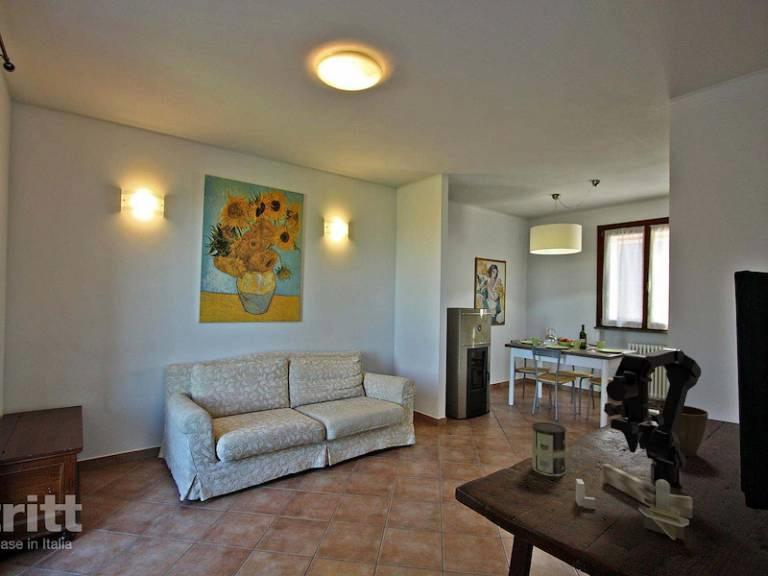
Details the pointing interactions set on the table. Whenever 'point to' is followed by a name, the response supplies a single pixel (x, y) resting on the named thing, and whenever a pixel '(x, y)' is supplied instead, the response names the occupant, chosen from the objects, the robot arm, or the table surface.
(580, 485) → the cream l-shaped block
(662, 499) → the hinge post
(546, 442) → the coffee can
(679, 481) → the robot arm
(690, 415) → the plant pot
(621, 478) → the cream wooden bar
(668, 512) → the platform
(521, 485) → the table surface
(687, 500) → the block
